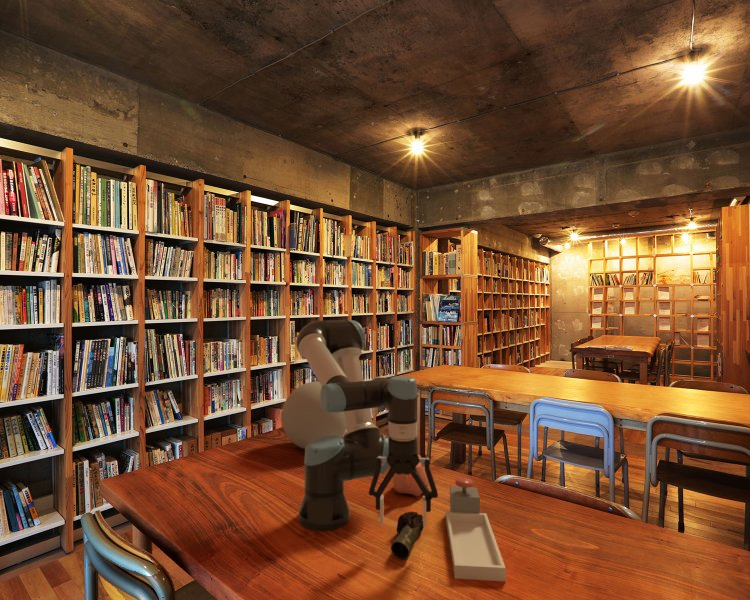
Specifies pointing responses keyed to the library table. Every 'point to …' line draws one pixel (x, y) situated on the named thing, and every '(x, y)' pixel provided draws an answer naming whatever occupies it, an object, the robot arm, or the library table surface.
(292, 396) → the sphere
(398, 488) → the teapot
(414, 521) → the metal pipe
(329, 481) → the robot arm
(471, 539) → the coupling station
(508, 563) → the library table surface
